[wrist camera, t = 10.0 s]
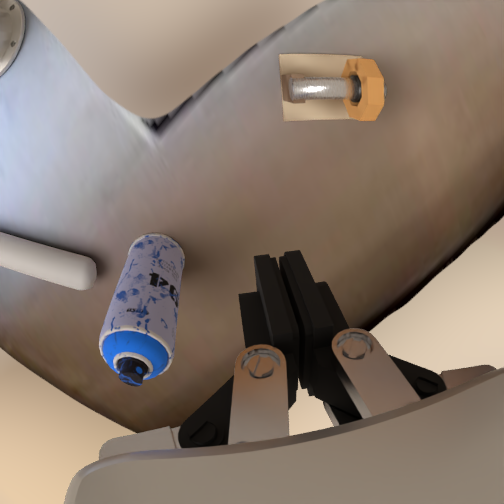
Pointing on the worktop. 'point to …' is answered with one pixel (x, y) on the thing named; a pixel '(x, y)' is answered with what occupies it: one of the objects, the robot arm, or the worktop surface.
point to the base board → (311, 68)
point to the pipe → (327, 88)
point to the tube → (47, 262)
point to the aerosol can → (144, 310)
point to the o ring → (365, 89)
